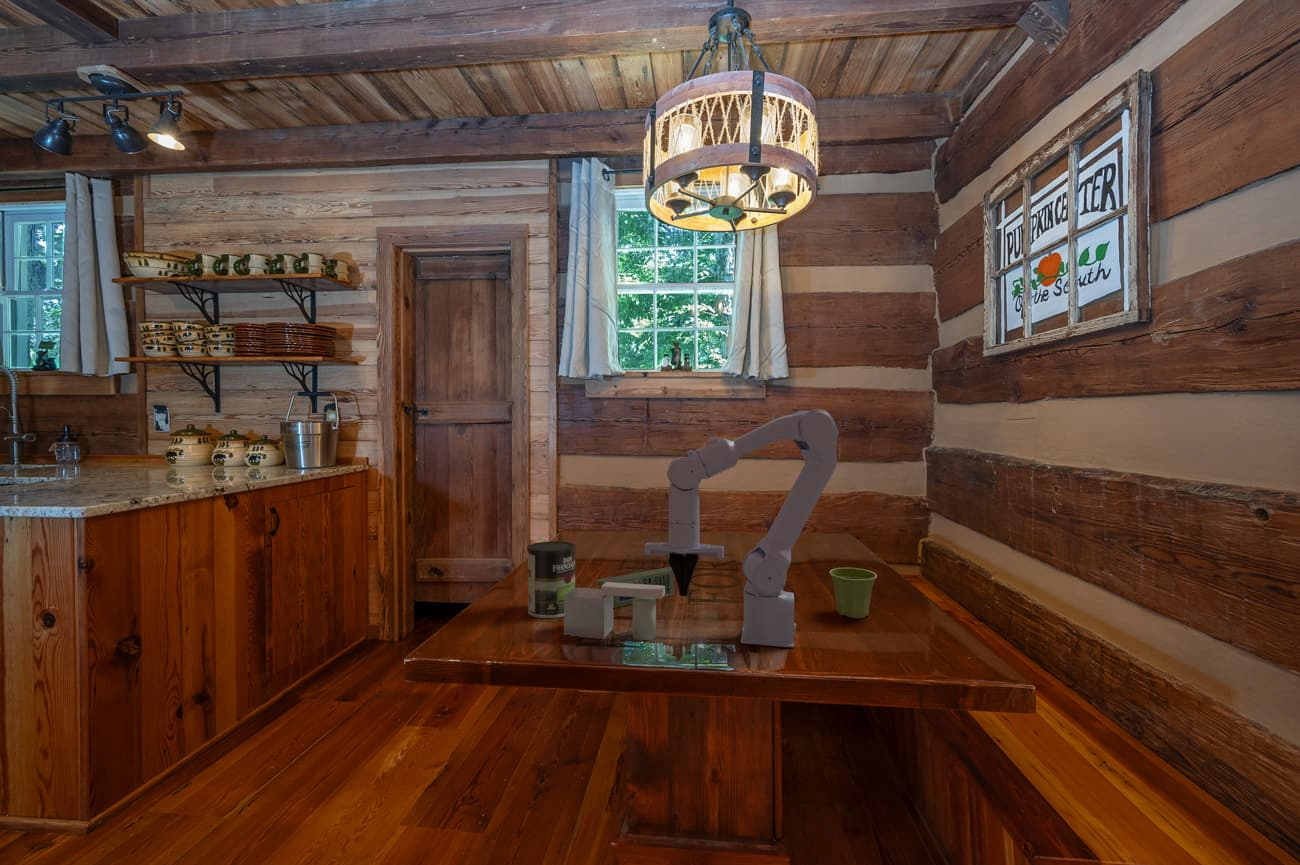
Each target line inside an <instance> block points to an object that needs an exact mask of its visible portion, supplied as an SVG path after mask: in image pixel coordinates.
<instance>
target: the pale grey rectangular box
mask: <svg viewBox="0 0 1300 865" xmlns="http://www.w3.org/2000/svg"><path fill="white" fill-rule="evenodd" d="M601 595H613V596H627V597H642V598H656V600H661V599H664V598H663V596H664V595H665V586H661V585H645V584H629V583H614V582H606V583H605V584H603V585H602V586H601Z"/></svg>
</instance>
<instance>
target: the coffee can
mask: <svg viewBox="0 0 1300 865" xmlns="http://www.w3.org/2000/svg"><path fill="white" fill-rule="evenodd" d="M576 546H577V545H576V544H575V543H573V542H570V541H562V540H561V541H556V540H555V541H539V542H536V543H532V544H530V545H527V549H526V550H527V564H528V565H527V583H528V584H527V589H528V590H527V597H528V599H527V601H528V602H527V614H528V615H530V616H532V617H534V618H538V619H558V618H564V596H565V595H566V594H567V593H569V592H570V591H571V590H572V589H574V588H575V587H576V548H577V547H576Z"/></svg>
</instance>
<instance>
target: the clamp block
mask: <svg viewBox="0 0 1300 865" xmlns="http://www.w3.org/2000/svg"><path fill="white" fill-rule="evenodd" d="M614 627H615V626H614V609H613V595H601V589H597V588H594V587H593V588H590V587H576V586H575V588H574V589H572V590H571V591H570V592H569V593H567V594H566V595H565V596H564V617H563V636H565V635H570V636H569V637H576V636H579V637H578V638H589V639H590V638H591V639H601V640H605V639H606V637H607V636H608V635H609V634H610V633H611V631H613V629H614Z"/></svg>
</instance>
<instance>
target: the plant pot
mask: <svg viewBox="0 0 1300 865" xmlns="http://www.w3.org/2000/svg"><path fill="white" fill-rule="evenodd" d="M829 575H830V576H831V580H832V582H833V588H834V593H835V594H834V595H835V601H836V602H835V603H836V610H837V613H838V614H839V615H840V616H846V617H847V618H850V619H863V618H866V617H868V616H869V611H870V604H871V598H872V592H873V586H874V585H875V581H876V579H877V578H878V575H877V573H875V571H871V570H868V569H863V568H856V567H837V568H833V569H830V570H829Z"/></svg>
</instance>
